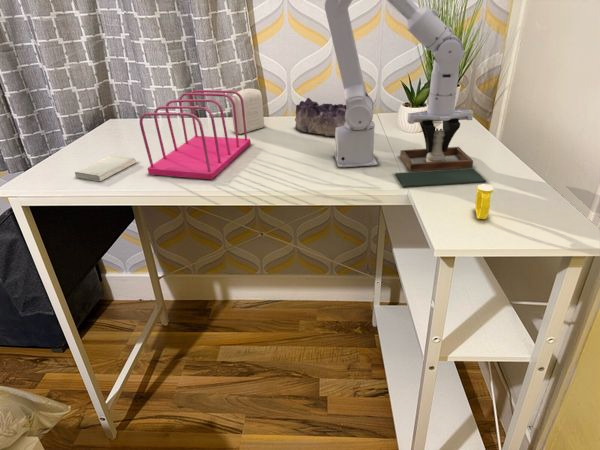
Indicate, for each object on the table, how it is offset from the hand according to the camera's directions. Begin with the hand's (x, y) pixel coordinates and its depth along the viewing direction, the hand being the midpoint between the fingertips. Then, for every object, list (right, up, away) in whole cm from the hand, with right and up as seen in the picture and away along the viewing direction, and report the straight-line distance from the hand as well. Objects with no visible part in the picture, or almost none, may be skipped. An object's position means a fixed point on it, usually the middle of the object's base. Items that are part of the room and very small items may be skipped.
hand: (436, 150), depth 103 cm
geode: (-25, +10, +26) cm, 38 cm away
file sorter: (-58, 0, +11) cm, 59 cm away
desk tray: (0, -3, +1) cm, 3 cm away
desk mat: (-1, -7, -7) cm, 10 cm away
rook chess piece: (0, -3, +2) cm, 3 cm away
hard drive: (-82, -4, +7) cm, 82 cm away
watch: (+1, -16, -22) cm, 27 cm away
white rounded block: (-48, +12, +31) cm, 59 cm away
